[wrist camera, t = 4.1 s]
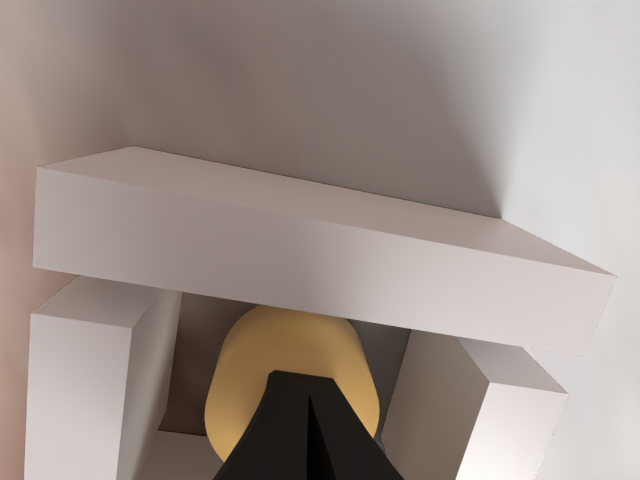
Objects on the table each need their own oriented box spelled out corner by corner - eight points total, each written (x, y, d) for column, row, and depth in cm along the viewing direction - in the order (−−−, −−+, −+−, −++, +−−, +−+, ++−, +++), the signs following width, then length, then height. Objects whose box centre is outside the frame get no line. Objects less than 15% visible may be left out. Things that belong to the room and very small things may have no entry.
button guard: (102, 469, 12) (18, 631, 8) (133, 145, 10) (35, 167, 6) (410, 503, 13) (459, 661, 10) (503, 219, 11) (616, 276, 7)
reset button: (209, 415, 11) (193, 477, 9) (231, 286, 10) (218, 326, 8) (346, 433, 12) (357, 496, 10) (378, 311, 11) (398, 353, 9)
